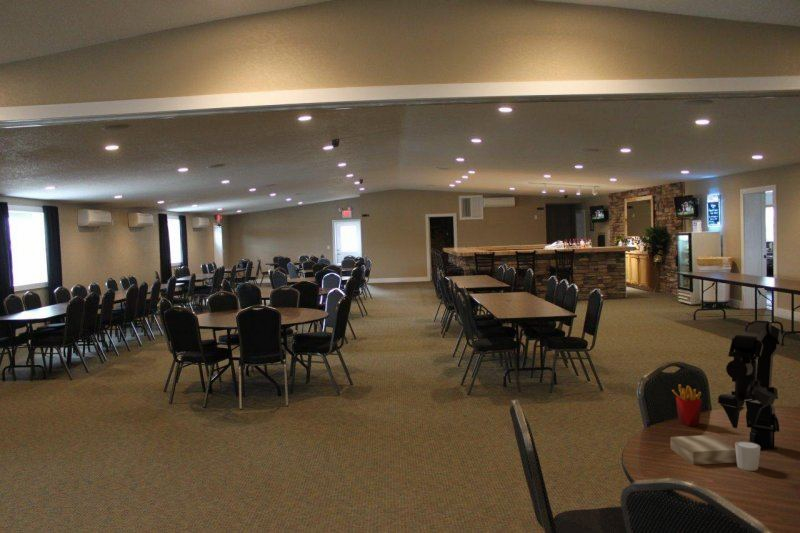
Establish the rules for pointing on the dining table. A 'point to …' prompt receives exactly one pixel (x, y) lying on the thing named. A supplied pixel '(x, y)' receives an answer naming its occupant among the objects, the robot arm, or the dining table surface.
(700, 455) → the birch block
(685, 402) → the french fries
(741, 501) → the dining table surface
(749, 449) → the white cup
